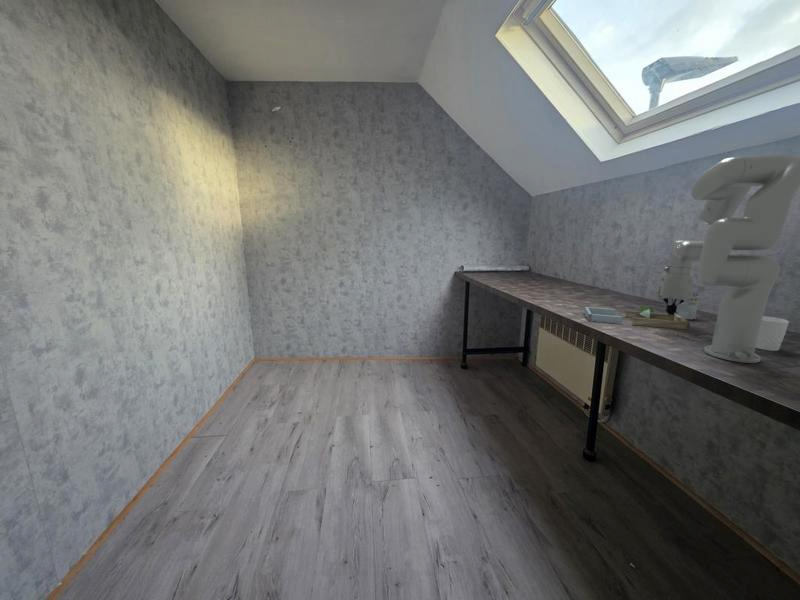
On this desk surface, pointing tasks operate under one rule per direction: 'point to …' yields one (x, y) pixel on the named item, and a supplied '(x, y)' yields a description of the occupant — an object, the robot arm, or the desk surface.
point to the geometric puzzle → (646, 312)
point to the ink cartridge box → (688, 307)
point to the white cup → (771, 333)
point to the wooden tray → (659, 320)
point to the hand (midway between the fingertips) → (670, 314)
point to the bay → (602, 315)
